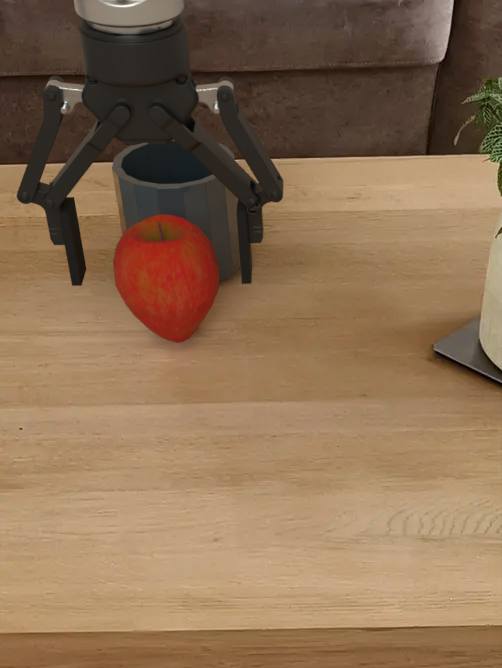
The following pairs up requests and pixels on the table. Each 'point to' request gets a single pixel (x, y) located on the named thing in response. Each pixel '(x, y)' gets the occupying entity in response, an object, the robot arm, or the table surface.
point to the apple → (167, 275)
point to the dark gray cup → (177, 195)
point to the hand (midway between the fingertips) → (163, 276)
